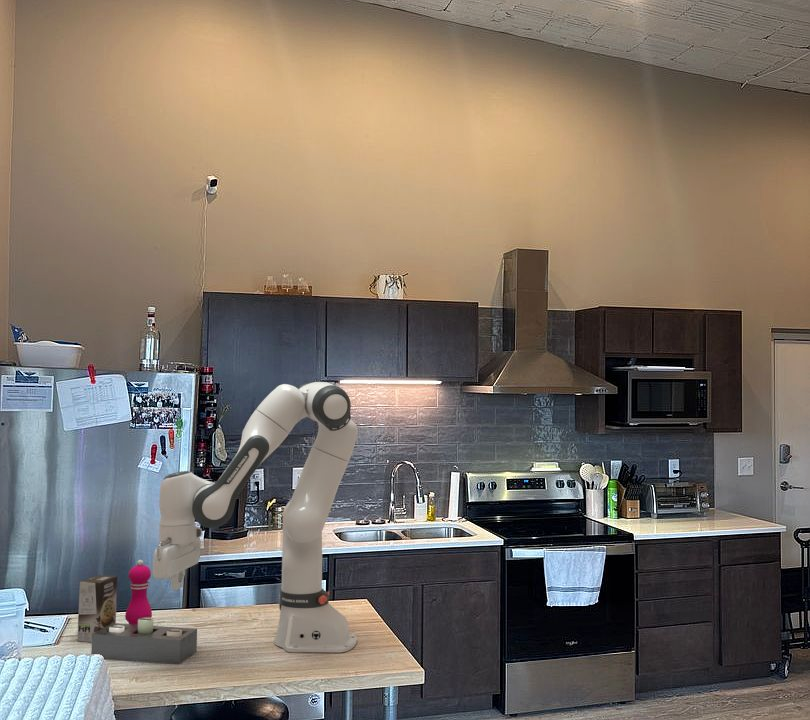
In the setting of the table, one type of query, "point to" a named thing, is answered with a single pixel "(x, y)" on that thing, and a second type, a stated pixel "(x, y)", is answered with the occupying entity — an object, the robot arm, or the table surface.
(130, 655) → the grey rectangular holder block
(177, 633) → the cream white small cup
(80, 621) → the brown food box
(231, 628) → the table surface
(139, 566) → the pepper mill
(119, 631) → the small cream cup
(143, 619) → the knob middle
